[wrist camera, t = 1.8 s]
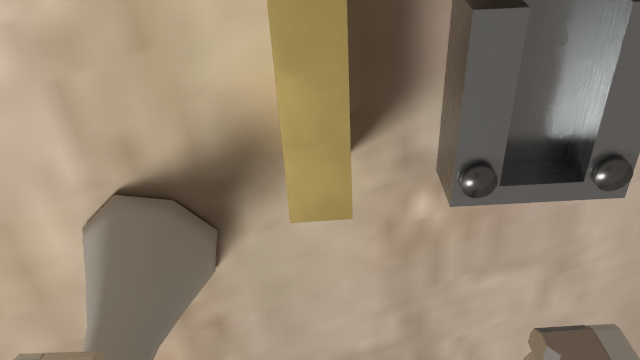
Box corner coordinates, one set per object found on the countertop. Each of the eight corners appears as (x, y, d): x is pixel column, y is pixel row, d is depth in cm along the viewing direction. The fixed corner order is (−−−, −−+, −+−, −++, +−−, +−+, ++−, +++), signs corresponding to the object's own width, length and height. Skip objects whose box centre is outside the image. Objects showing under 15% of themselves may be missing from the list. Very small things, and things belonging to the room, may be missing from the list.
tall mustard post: (264, -114, 21) (257, -92, 17) (334, -119, 21) (344, -98, 17) (290, 159, 28) (290, 222, 24) (343, 155, 28) (352, 218, 24)
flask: (240, 220, 30) (219, 385, 21) (193, 308, 33) (160, 478, 25) (102, 171, 27) (19, 332, 19) (68, 270, 31) (-14, 442, 23)
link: (453, -14, 23) (475, 13, 20) (648, -23, 23) (696, 2, 20) (436, 170, 28) (452, 212, 25) (595, 162, 28) (628, 202, 25)
